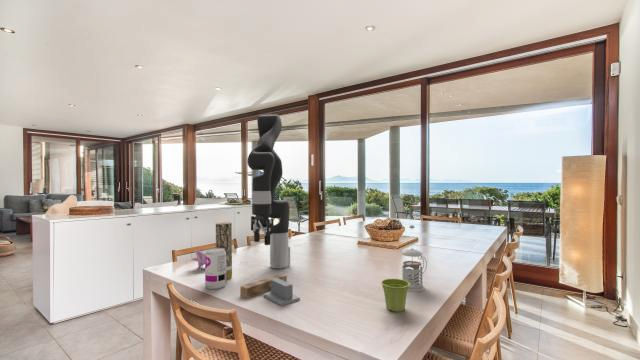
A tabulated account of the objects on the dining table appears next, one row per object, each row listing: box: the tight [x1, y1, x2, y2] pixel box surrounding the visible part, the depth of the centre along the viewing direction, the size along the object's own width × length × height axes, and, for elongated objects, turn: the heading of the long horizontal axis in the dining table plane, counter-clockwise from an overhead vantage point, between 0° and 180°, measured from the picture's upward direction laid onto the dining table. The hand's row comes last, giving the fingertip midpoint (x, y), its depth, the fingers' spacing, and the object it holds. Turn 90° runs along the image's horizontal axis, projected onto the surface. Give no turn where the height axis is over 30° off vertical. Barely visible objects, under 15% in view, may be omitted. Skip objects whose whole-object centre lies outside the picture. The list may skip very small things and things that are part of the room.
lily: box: [190, 249, 205, 269], centre depth 156 cm, size 12×12×10 cm
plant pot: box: [380, 278, 410, 312], centre depth 108 cm, size 9×9×9 cm
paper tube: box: [215, 220, 233, 281], centre depth 142 cm, size 7×7×25 cm
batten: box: [239, 273, 288, 299], centre depth 127 cm, size 20×4×4 cm, turn 139°
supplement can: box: [204, 247, 227, 290], centre depth 131 cm, size 8×8×15 cm
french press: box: [401, 224, 428, 292], centre depth 128 cm, size 10×12×25 cm
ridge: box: [263, 278, 301, 307], centre depth 117 cm, size 8×12×6 cm, turn 40°
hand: (262, 243), depth 127 cm, fingers open, 8 cm apart
